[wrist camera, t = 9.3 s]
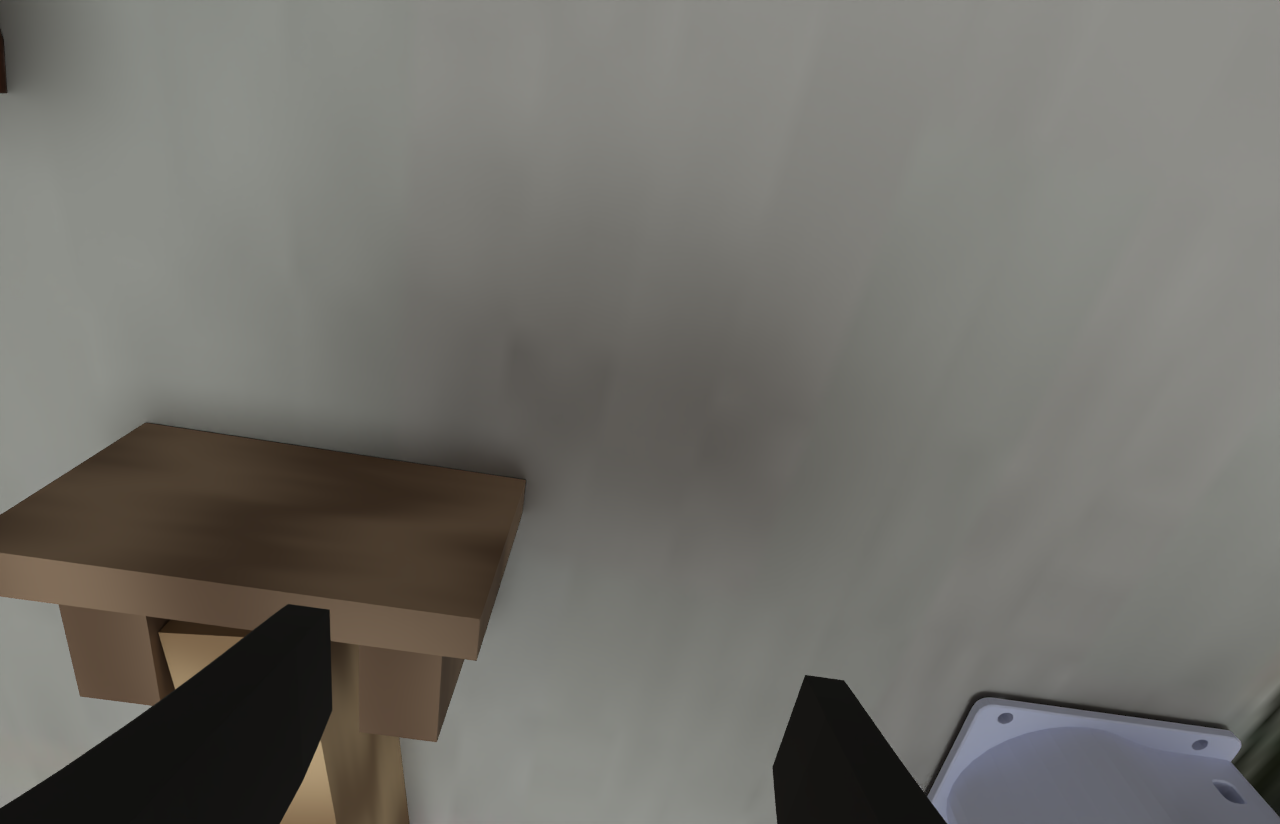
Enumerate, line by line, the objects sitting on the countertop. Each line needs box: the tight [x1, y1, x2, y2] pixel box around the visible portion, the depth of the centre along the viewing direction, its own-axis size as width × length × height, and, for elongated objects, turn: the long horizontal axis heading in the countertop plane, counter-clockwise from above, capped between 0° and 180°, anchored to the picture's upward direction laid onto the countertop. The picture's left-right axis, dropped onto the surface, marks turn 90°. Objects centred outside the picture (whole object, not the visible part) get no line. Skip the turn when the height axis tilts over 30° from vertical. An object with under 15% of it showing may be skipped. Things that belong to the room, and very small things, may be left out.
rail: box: [158, 619, 409, 824], centre depth 22 cm, size 14×4×5 cm, turn 177°
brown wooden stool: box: [0, 423, 526, 742], centre depth 18 cm, size 11×5×6 cm, turn 81°
